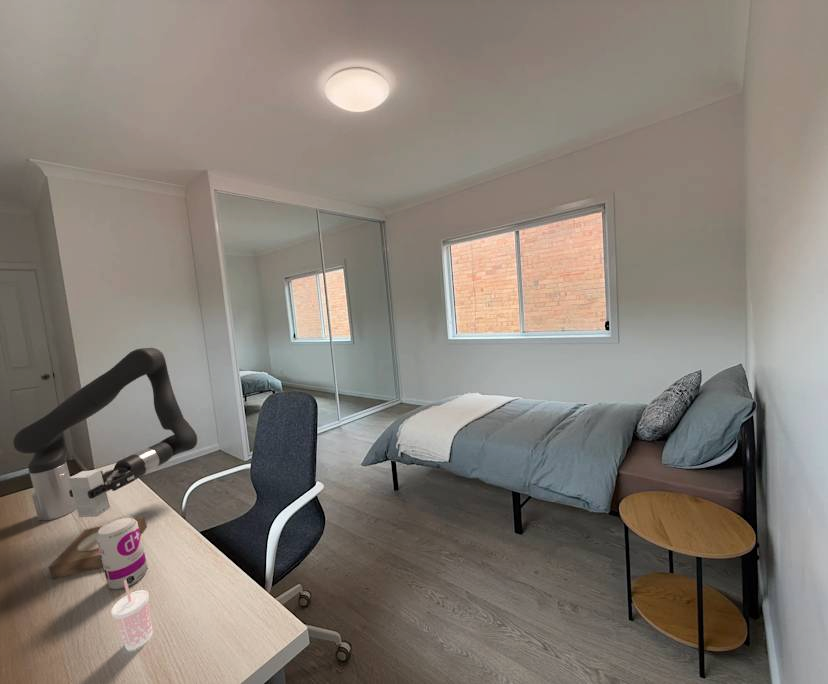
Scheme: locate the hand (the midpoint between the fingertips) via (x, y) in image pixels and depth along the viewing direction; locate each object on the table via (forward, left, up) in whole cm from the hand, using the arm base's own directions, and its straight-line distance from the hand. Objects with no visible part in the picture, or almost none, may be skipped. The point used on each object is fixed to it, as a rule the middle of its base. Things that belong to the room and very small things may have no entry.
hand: (79, 494), depth 102 cm
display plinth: (+1, +2, -19) cm, 19 cm away
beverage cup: (+25, -36, -19) cm, 48 cm away
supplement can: (+14, -14, -19) cm, 28 cm away
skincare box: (+1, +2, -7) cm, 8 cm away
